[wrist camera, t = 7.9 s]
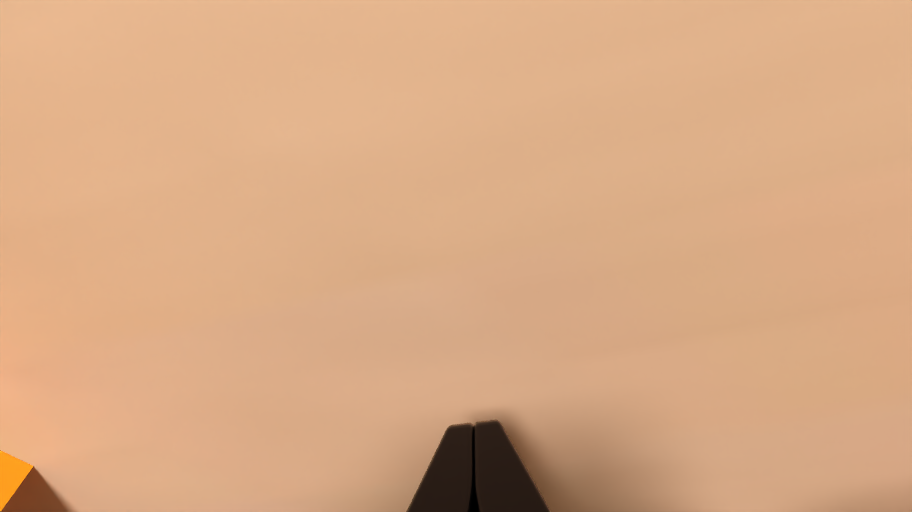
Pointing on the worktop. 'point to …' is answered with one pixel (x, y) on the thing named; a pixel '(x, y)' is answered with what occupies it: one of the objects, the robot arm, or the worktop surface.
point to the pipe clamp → (11, 476)
